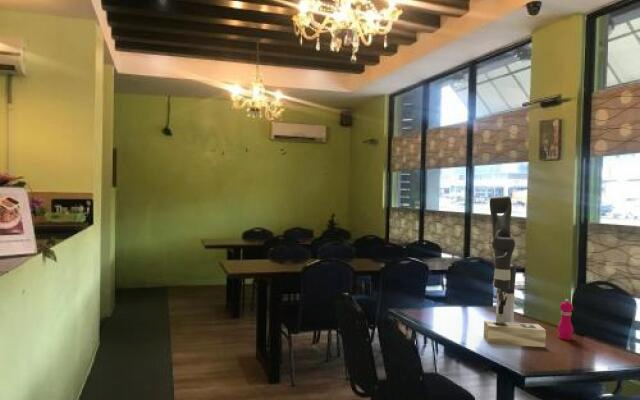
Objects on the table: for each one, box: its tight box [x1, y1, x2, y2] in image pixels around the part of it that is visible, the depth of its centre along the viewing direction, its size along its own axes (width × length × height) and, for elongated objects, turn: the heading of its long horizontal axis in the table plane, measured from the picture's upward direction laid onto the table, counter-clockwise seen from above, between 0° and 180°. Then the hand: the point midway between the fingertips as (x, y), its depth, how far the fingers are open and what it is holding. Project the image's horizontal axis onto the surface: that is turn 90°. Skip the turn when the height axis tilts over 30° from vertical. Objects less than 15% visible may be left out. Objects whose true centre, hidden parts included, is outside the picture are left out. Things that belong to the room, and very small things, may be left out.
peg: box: [495, 313, 505, 325], centre depth 249 cm, size 4×4×8 cm
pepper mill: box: [557, 298, 574, 341], centre depth 259 cm, size 7×7×20 cm
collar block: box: [483, 320, 547, 348], centre depth 248 cm, size 12×26×8 cm, turn 83°
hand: (500, 313), depth 249 cm, fingers closed
